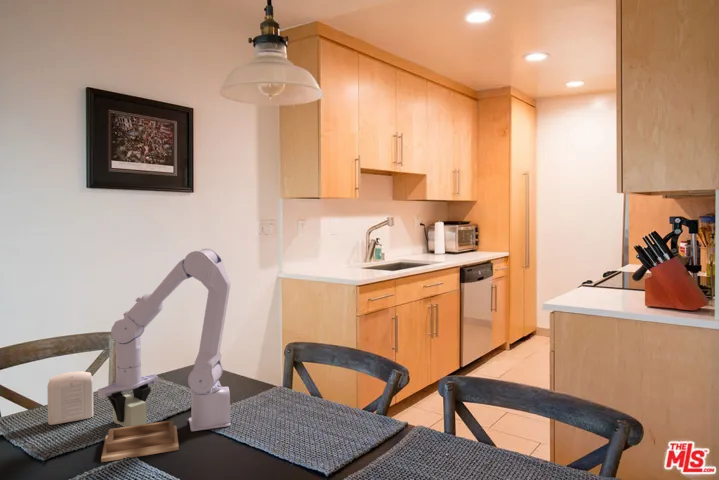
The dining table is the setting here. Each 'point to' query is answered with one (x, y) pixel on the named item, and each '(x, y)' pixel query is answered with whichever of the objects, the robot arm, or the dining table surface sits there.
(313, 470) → the dining table surface
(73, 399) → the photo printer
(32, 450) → the dining table surface
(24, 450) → the dining table surface
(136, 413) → the beige block
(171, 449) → the slot board
